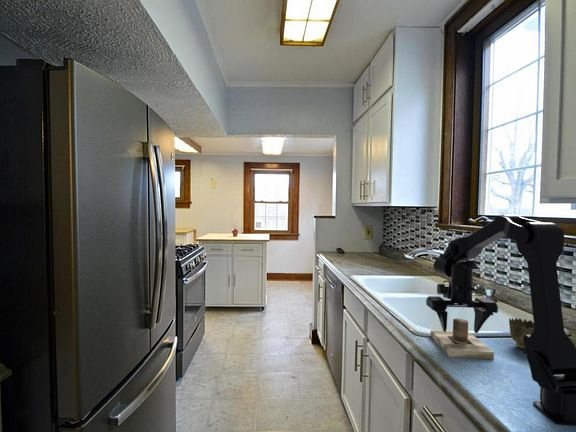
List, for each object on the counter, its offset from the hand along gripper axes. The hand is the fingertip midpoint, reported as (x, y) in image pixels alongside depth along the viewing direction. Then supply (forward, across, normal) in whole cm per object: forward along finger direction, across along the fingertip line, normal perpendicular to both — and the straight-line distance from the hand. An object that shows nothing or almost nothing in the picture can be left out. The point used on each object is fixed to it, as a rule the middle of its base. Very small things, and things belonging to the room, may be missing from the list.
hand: (460, 332), depth 94 cm
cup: (+5, -19, -1) cm, 20 cm away
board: (+4, 0, 0) cm, 5 cm away
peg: (+4, 0, 0) cm, 5 cm away
